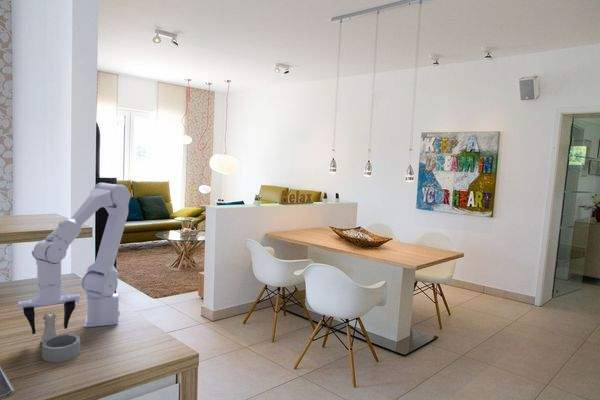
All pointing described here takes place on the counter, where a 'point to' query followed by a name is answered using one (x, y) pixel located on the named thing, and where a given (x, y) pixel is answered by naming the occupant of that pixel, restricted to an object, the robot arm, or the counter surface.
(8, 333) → the counter surface
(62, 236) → the robot arm
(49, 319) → the rook chess piece
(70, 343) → the grey faceted bowl
